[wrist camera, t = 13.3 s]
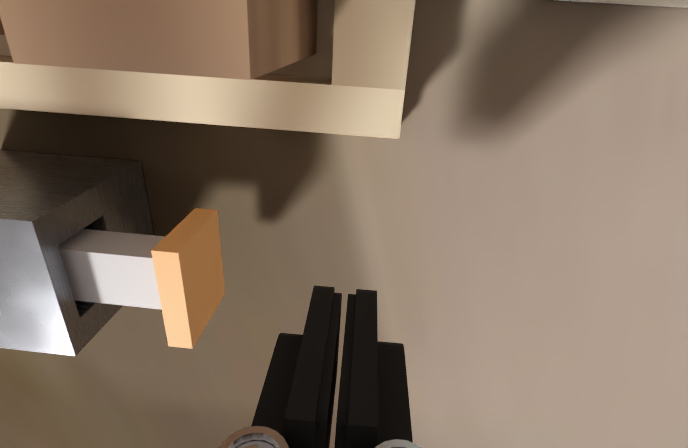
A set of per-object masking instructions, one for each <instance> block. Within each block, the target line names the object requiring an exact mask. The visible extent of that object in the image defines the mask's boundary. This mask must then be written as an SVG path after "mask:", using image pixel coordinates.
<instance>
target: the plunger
mask: <svg viewBox="0 0 688 448" xmlns="http://www.w3.org/2000/svg"><path fill="white" fill-rule="evenodd" d="M58 248H59V251H60V254H61V257H62V261H63V264H64V267H65V271H66V274H67V277H68V281H69V284H70V287H71V291H72V294H73V297H74V300H76V301H86V302H95V303H105V304H115V305H124V306H134V307H143V308H153V309H162V313H163V318H164V324H165V329H166V335H167V340H168V346H172V347H181V348H190V349H193V347H194V345H195V344H196V342H197V340H198V339H199V337H200V335H201V334H202V332H203V330H204V329H205V327H206V325H207V324H208V322H209V320H210V319H211V317H212V315H213V313H214V312H215V310H216V308H217V307H218V305H219V303H220V302H221V300H222V298H223V297H224V295H225V286H224V275H223V265H222V254H221V243H220V233H219V222H218V211H217V210H211V209H200V208H195V209H194V210H193V211H192V212H191V213H190V214H188V215H187V216H186V217H185V218H184V219H183V220H182V221H181V222H180V223H179V224H178V225H177V226H176V227H175V228H174V229H173V230H172V231H171V232H170V233H169V234H168V235H167V236H166V237H164V236H154V235H143V234H132V233H122V232H111V231H100V230H90V229H82V230H80V231H79V232H77V233H76V234H74V235H73V236H71V237H70V238H68V239H67V240H65V241H64V242H62V243H61V244H59V245H58Z"/></svg>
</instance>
